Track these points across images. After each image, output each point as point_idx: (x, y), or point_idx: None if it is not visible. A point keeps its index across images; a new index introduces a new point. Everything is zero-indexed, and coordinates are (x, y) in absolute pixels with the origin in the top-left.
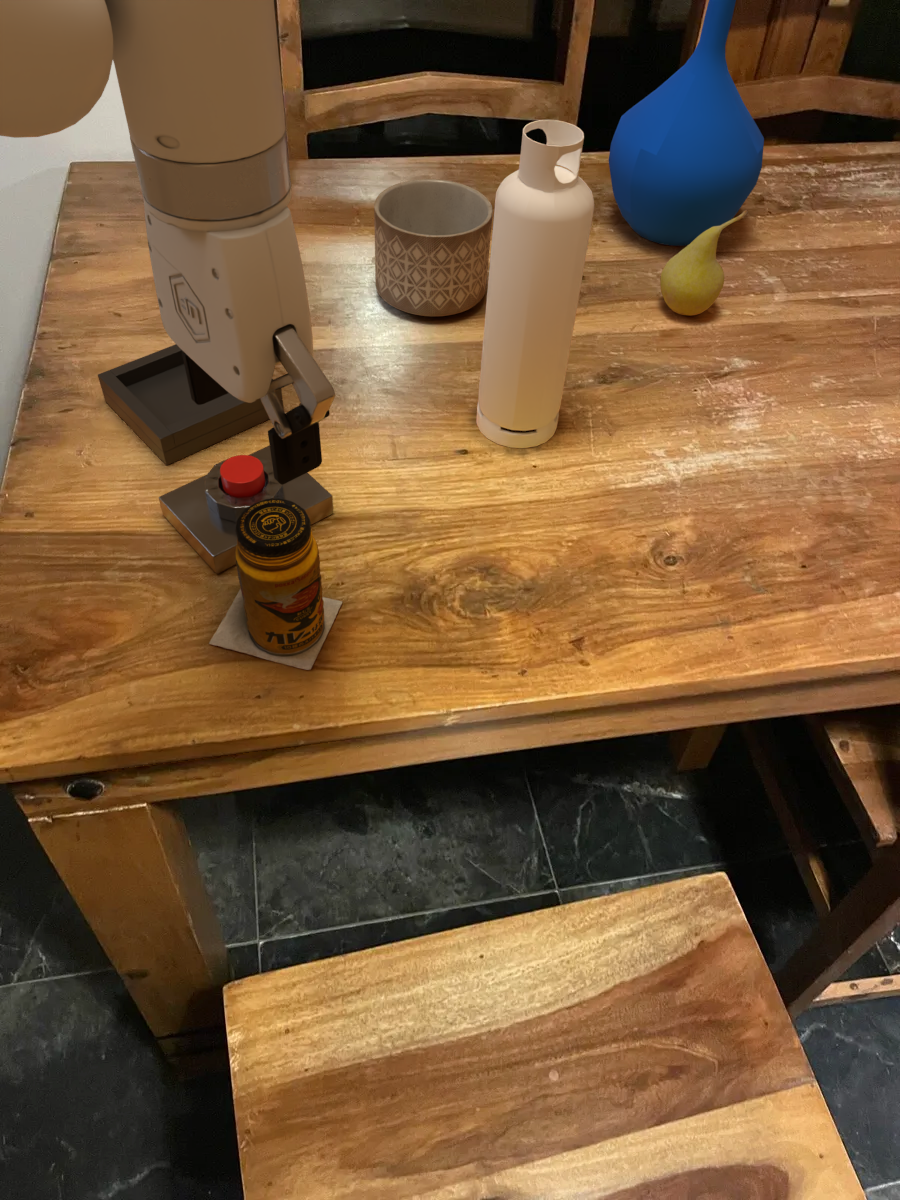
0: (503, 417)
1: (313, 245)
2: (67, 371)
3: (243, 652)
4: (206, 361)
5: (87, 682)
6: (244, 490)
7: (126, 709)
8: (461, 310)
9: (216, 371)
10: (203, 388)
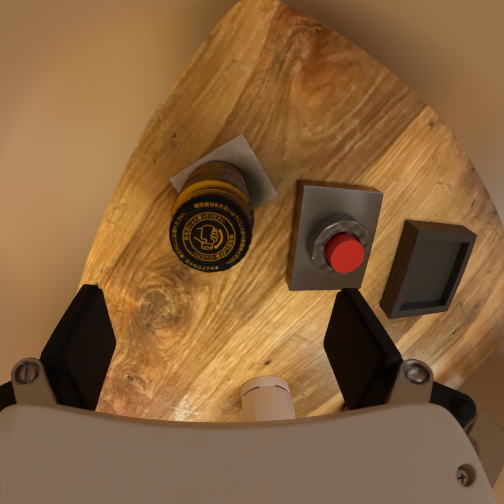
0: (258, 394)
1: (436, 370)
2: (487, 224)
3: (215, 149)
4: (165, 476)
5: (274, 49)
6: (332, 245)
7: (232, 56)
8: (346, 406)
9: (103, 460)
10: (344, 318)
